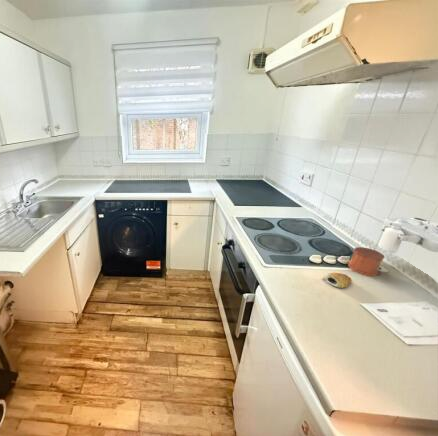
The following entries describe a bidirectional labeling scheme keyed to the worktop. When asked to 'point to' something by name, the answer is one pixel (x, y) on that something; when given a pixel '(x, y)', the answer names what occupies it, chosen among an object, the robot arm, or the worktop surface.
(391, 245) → the eye dropper bottle
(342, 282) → the pastry
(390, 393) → the worktop surface
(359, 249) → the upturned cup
